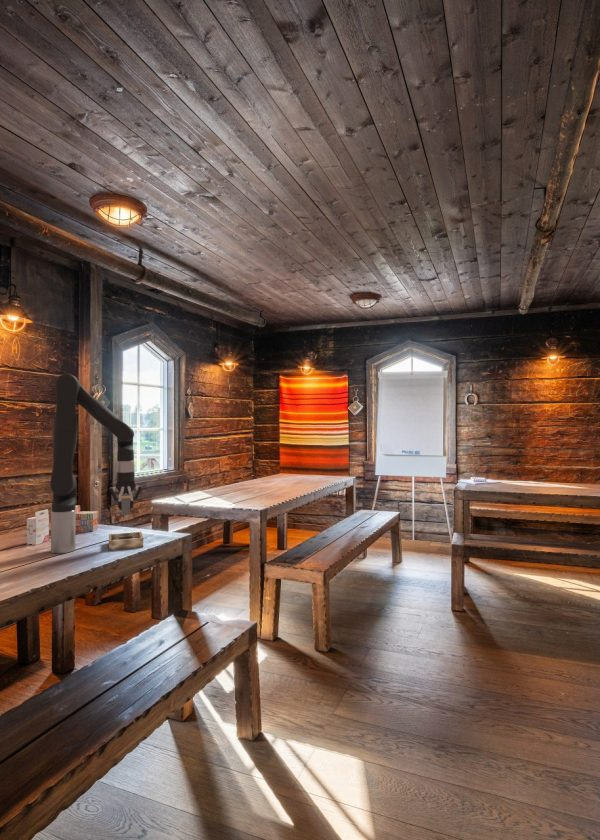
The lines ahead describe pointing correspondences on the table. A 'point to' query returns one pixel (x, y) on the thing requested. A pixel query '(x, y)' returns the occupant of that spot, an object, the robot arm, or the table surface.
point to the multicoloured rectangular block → (84, 520)
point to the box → (125, 541)
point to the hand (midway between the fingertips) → (125, 509)
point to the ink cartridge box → (38, 528)
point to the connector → (125, 504)
